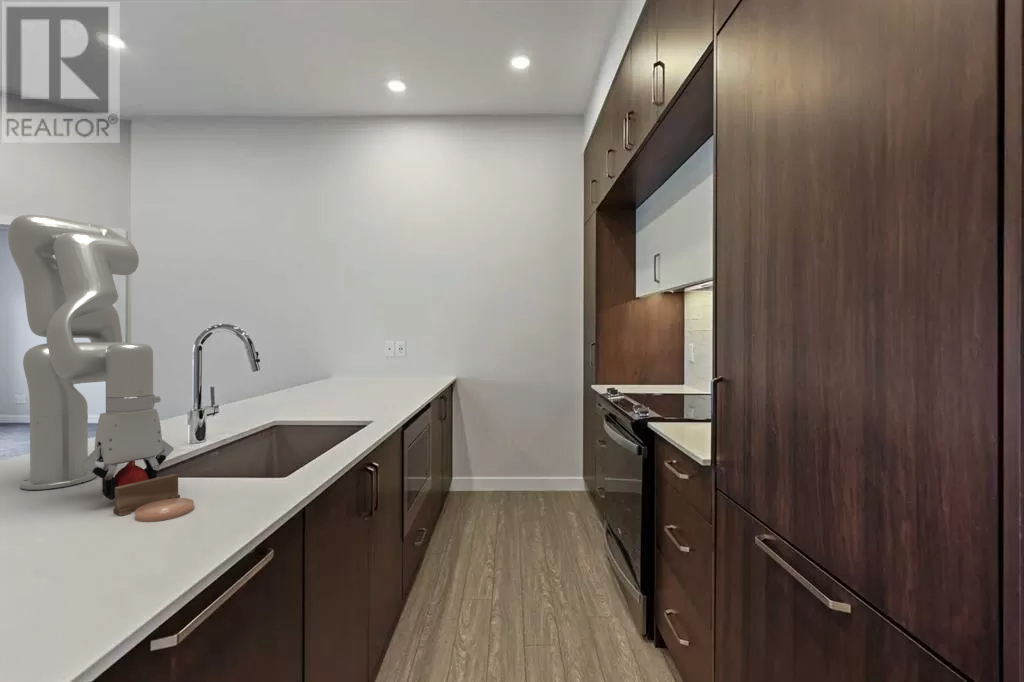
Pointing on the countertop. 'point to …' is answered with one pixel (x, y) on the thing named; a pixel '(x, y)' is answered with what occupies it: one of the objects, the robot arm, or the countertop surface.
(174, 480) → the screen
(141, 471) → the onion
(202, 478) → the countertop surface
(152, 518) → the plate
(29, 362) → the robot arm
